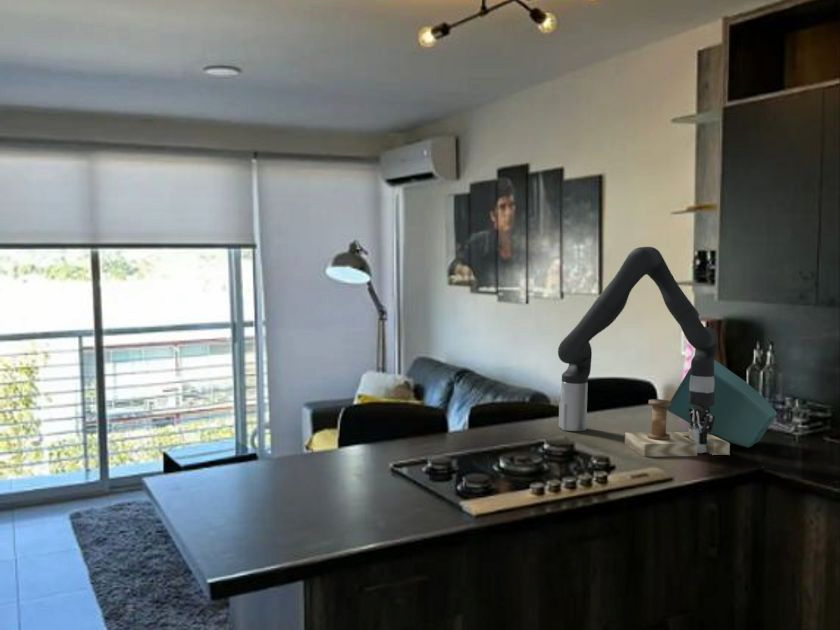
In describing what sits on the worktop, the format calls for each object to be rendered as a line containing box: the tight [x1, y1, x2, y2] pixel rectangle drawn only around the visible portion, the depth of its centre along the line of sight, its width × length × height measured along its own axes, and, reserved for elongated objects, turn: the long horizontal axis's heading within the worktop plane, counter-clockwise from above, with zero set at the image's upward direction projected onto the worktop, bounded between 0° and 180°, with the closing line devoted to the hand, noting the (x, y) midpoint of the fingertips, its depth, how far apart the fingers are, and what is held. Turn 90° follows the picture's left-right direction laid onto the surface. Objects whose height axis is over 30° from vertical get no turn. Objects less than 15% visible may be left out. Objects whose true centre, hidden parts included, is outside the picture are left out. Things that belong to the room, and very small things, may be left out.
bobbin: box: [647, 398, 671, 440], centre depth 243 cm, size 7×7×12 cm
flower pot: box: [667, 359, 778, 448], centre depth 255 cm, size 20×20×28 cm
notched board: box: [624, 431, 731, 458], centre depth 244 cm, size 28×16×4 cm, turn 96°
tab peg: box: [687, 425, 707, 454], centre depth 241 cm, size 4×4×8 cm
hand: (700, 442), depth 241 cm, fingers closed on tab peg, 3 cm apart
